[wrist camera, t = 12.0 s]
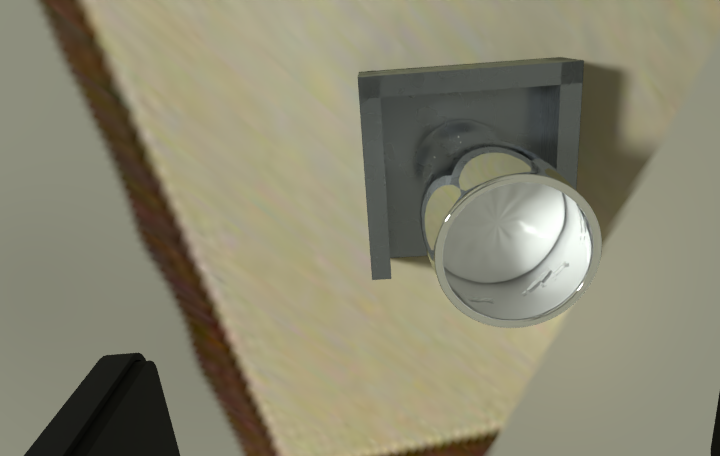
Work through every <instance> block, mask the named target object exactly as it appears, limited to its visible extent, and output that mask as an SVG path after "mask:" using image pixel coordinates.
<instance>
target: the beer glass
mask: <svg viewBox="0 0 720 456" xmlns="http://www.w3.org/2000/svg"><path fill="white" fill-rule="evenodd" d="M414 178H415V182H416V185H417V187H418V189H419V191H420V193H421V198H420V206H419V223H420V229H421V235H422V240H423V243H424V246H425V249H426V252H427V255H428V258H429V260H430V262H431V265H432V267H433V269H434V271H435V273H436V275H437V278H438V281H439V284H440V286H441V288H442V290H443V292H444V293H445V295H446V296H447V298H448V299H449V300H450V301H451V303H452V304H453V305H454V306H455V307H456V308H457V309H459V310H460V311H461V312H462V313H464V314H465V315H467V316H468V317H470V318H472V319H474V320H476V321H478V322H481V323H484V324H487V325H491V326H495V327H503V328H519V327H527V326H532V325H536V324H539V323H542V322H545V321H547V320H550V319H552V318H554V317H556V316H558V315H559V314H561V313H562V312H564V311H565V310H567V309H568V308H569V307H571V306H572V305H573V304H574V303H575V302H576V301H577V300H578V299H579V298H580V297H581V296H582V295H583V294H584V293H585V291H586V290H587V289H588V287H589V286H590V284H591V282H592V280H593V278H594V276H595V274H596V272H597V269H598V266H599V263H600V259H601V252H602V237H601V231H600V226H599V223H598V220H597V218H596V216H595V213H594V212H593V210H592V208H591V207H590V205H589V204H588V202H587V201H586V200H585V199H584V198H583V197H582V196H581V195H580V194H579V193H578V192H577V191H576V190H575V189H574V188H573V187H572V185H571V184H570V183H569V182H568V181H567V180H566V179H565V178H564V177H563V175H562V174H561V173H559V172H558V171H557V170H556V169H555V168H554V167H553V166H552V165H551V164H549V163H548V162H547V161H546V160H544V159H543V158H541V157H539V156H538V155H536V154H535V153H533V152H531V151H530V150H528V149H526V148H523V147H521V146H518V145H515V144H511V143H508V142H504V141H502V139H501V138H500V137H499V136H498V134H497V133H496V132H495V131H493V130H492V129H491V128H489V127H488V126H486V125H484V124H482V123H480V122H476V121H472V120H455V121H451V122H447V123H445V124H443V125H441V126H439V127H437V128H436V129H434V130H433V131H432V132H430V133H429V134H428V135H427V136H426V137H425V139H424V140H423V141H422V143H421V144H420V146H419V148H418V150H417V153H416V156H415V160H414Z"/></svg>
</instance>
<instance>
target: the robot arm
mask: <svg viewBox="0 0 720 456" xmlns="http://www.w3.org/2000/svg"><path fill="white" fill-rule="evenodd" d="M24 456H180V454H179V449H178V446H177V442H176V438H175V435H174V431H173V427H172V423H171V420H170V416H169V412H168V408H167V405H166V401H165V397H164V393H163V390H162V386H161V382H160V378H159V375H158V371H157V368H156V365H155V364H154V362H152V361H146V360H145V358H144V357H143V355H142V354H140V353H130V354H117V355H106V356H103V357H102V358H101V359H100V360H99V361H98V362H97V363H96V365H95V366H94V367H93V368H92V370H91V371H90V373H89V374H88V375H87V376H86V378H85V379H84V380H83V381H82V382H81V384H80V385H79V386H78V388H77V389H76V390H75V391H74V393H73V394H72V395H71V397H70V398H69V399H68V400H67V402H66V403H65V404H64V405H63V407H62V408H61V409H60V410H59V412H58V413H57V414H56V416H55V417H54V418H53V419H52V421H51V422H50V423H49V424H48V426H47V427H46V429H44V431H43V432H42V433H41V435H40V436H39V437H38V439H37V440H36V441H35V442H34V443H33V445H32V446H31V447H30V449H29V450H28V451H27V452H26V454H25V455H24ZM711 456H720V393H719V400H718V406H717V412H716V419H715V425H714V432H713V438H712V444H711Z"/></svg>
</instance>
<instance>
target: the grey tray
mask: <svg viewBox="0 0 720 456" xmlns="http://www.w3.org/2000/svg"><path fill="white" fill-rule="evenodd" d="M583 67H584V61H583V60H576V59H569V58H562V57H557V58H543V59H530V60H516V61H503V62H489V63H476V64H462V65H448V66H435V67H421V68H408V69H394V70H381V71H367V72H359V75H358V87H359V101H360V115H361V129H362V143H363V157H364V171H365V185H366V199H367V213H368V227H369V241H370V255H371V269H372V280H378V279H391V265H390V258H395V257H412V256H428V255H427V252H426V249H425V246H424V243H423V240H422V235H421V229H420V223H419V206H420V198H421V193H420V191H419V189H418V187H417V185H416V182H415V178H414V160H415V156H416V153H417V150H418V148H419V146H420V144H421V143H422V141H423V140H424V139H425V137H426V136H427V135H428V134H429V133H430V132H432V131H433V130H434V129H436V128H437V127H439V126H441V125H443V124H445V123H447V122H451V121H455V120H472V121H476V122H480V123H482V124H484V125H486V126H488V127H489V128H491V129H492V130H493V131H495V132H496V133H497V134H498V136H499V137H500V138H501V139H502V141H504V142H508V143H511V144H515V145H518V146H521V147H523V148H526V149H528V150H530V151H531V152H533V153H535V154H536V155H538V156H539V157H541V158H543V159H544V160H546V161H547V162H548V163H549V164H551V165H552V166H553V167H554V168H555V169H556V170H557V171H558V172H559V173H561V174H562V175H563V177H564V178H565V179H566V180H567V181H568V182H569V183H570V184H571V185H572V187H573V188H574V189H575V190H576V184H577V167H578V150H579V134H580V117H581V100H582V84H583Z"/></svg>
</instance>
